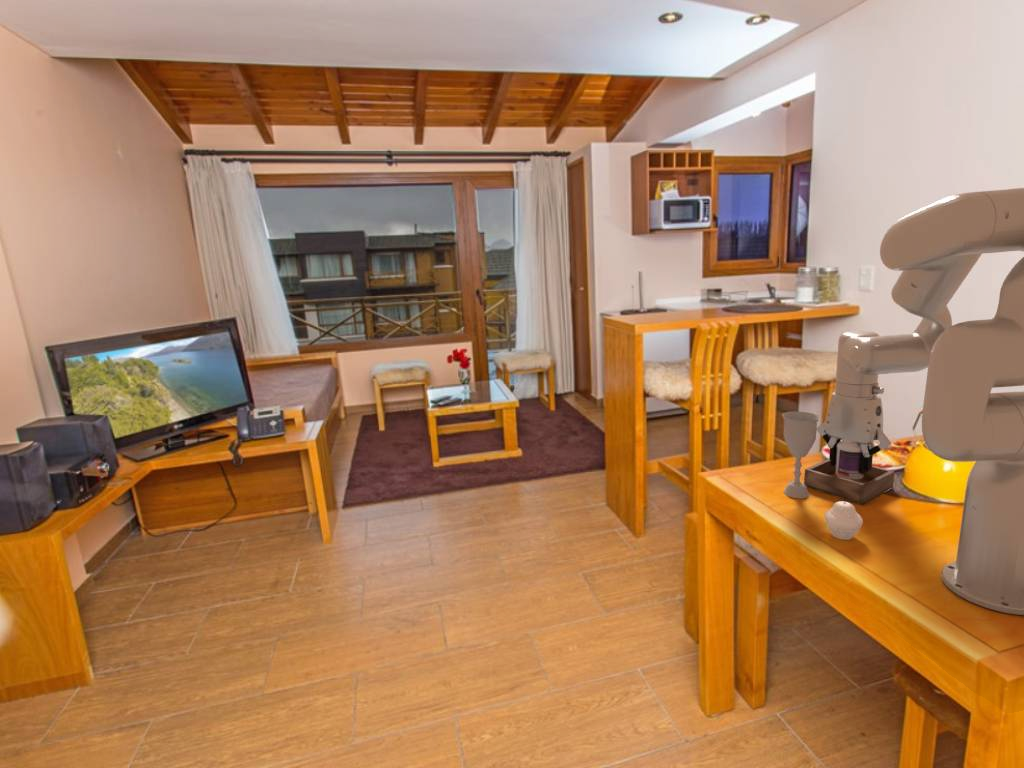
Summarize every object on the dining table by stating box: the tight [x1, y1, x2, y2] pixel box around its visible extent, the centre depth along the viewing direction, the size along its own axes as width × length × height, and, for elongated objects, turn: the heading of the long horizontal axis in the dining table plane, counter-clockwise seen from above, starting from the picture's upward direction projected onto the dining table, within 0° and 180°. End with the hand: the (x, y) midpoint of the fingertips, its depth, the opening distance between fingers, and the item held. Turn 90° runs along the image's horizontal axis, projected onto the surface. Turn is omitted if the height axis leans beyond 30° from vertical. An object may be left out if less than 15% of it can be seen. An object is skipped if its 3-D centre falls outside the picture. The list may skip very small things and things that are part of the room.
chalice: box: [781, 411, 821, 499], centre depth 116 cm, size 7×7×18 cm
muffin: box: [824, 500, 864, 541], centre depth 100 cm, size 6×6×7 cm
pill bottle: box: [835, 439, 864, 480], centre depth 118 cm, size 5×5×10 cm
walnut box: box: [803, 458, 896, 506], centre depth 119 cm, size 13×13×4 cm
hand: (849, 467), depth 118 cm, fingers closed on pill bottle, 5 cm apart
